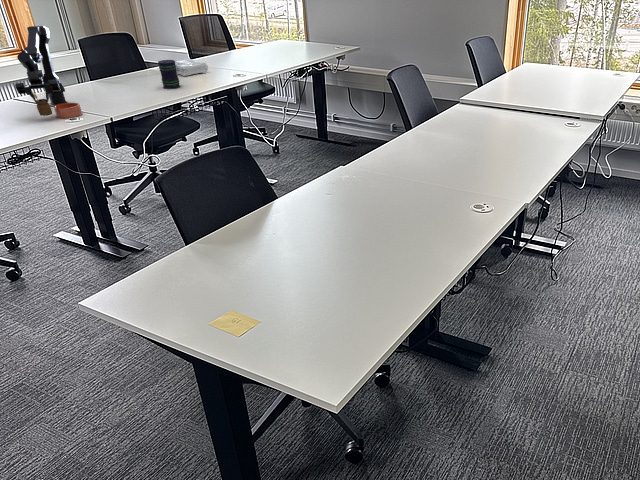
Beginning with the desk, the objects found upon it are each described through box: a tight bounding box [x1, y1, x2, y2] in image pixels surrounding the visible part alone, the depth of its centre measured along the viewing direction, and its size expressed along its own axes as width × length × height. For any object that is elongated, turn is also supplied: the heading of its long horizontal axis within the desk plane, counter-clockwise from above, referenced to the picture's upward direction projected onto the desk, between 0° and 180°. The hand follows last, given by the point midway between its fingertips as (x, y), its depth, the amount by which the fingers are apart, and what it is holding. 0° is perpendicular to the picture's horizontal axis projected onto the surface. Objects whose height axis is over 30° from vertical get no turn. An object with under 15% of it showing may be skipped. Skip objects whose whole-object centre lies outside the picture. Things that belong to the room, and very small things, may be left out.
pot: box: [53, 102, 83, 119], centre depth 294 cm, size 12×12×5 cm
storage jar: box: [157, 59, 181, 90], centre depth 344 cm, size 10×10×15 cm
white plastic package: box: [174, 58, 209, 77], centre depth 383 cm, size 19×28×8 cm
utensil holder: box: [32, 90, 53, 117], centre depth 283 cm, size 6×6×12 cm
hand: (41, 101), depth 282 cm, fingers closed on utensil holder, 5 cm apart
